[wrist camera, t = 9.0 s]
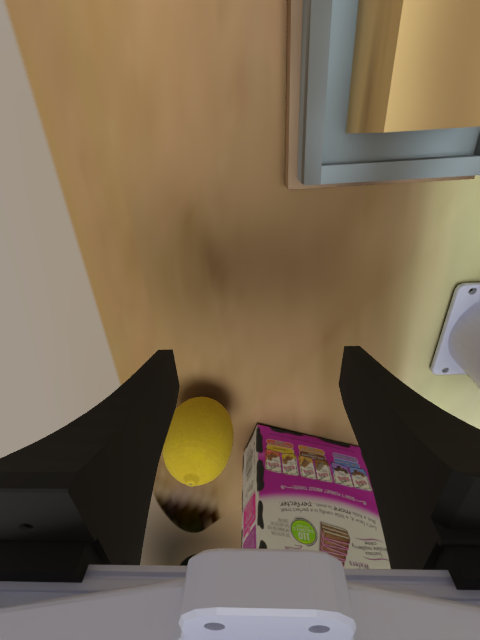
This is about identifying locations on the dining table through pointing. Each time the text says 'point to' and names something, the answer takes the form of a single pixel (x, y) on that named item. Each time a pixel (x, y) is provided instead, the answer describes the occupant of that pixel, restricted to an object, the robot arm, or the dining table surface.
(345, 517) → the candy bar box
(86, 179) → the dining table surface
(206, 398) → the lemon
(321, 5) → the grey storage bin
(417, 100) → the wooden block
